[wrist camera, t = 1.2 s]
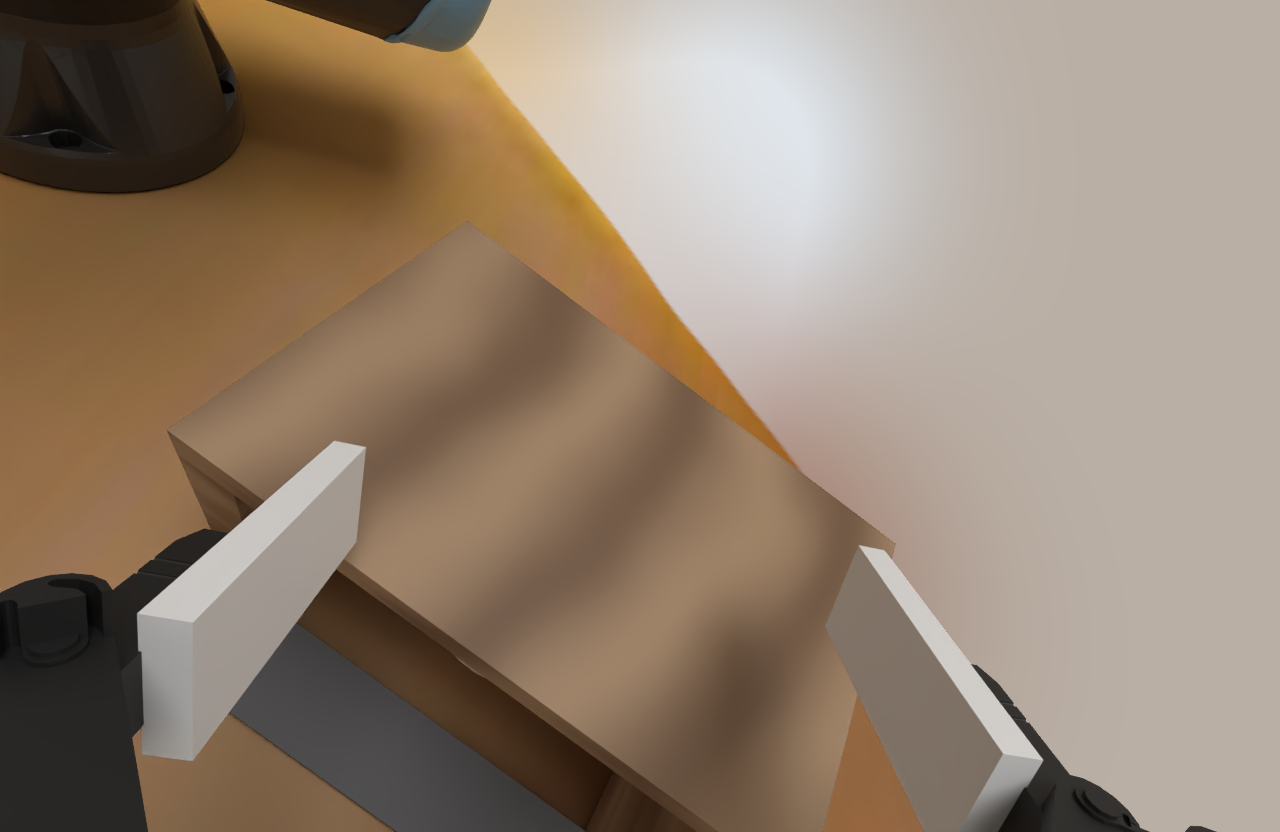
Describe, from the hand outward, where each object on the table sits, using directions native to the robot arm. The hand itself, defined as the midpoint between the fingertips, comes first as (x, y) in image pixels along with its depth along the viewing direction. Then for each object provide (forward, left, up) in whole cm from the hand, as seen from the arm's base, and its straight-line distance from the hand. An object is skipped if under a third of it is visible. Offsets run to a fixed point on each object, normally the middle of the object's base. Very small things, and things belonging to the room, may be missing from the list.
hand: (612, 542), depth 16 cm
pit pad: (0, -5, -18) cm, 19 cm away
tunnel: (0, +3, -18) cm, 19 cm away
